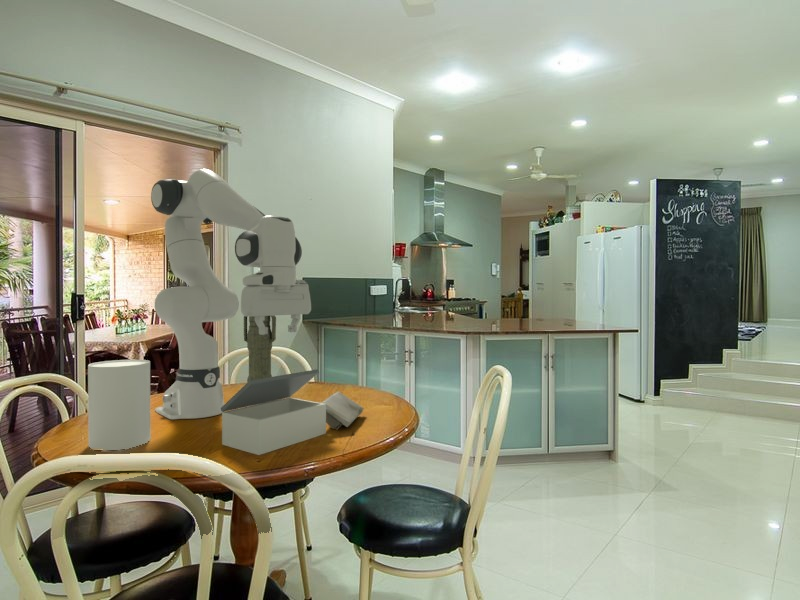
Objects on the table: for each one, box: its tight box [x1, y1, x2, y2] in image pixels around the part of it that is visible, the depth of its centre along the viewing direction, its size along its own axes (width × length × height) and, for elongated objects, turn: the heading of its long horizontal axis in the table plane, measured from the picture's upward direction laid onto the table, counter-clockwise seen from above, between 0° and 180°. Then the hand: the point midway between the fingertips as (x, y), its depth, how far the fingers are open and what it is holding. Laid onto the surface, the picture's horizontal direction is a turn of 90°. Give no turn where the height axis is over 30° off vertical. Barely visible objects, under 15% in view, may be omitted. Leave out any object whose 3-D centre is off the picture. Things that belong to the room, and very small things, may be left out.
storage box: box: [221, 397, 327, 456], centre depth 129 cm, size 14×22×8 cm, turn 144°
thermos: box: [243, 315, 277, 384], centre depth 183 cm, size 9×12×35 cm
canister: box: [87, 359, 152, 451], centre depth 125 cm, size 14×14×20 cm
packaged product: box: [320, 390, 365, 431], centre depth 143 cm, size 18×5×10 cm
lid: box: [221, 369, 320, 412], centre depth 129 cm, size 14×22×1 cm
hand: (278, 333), depth 128 cm, fingers open, 8 cm apart
